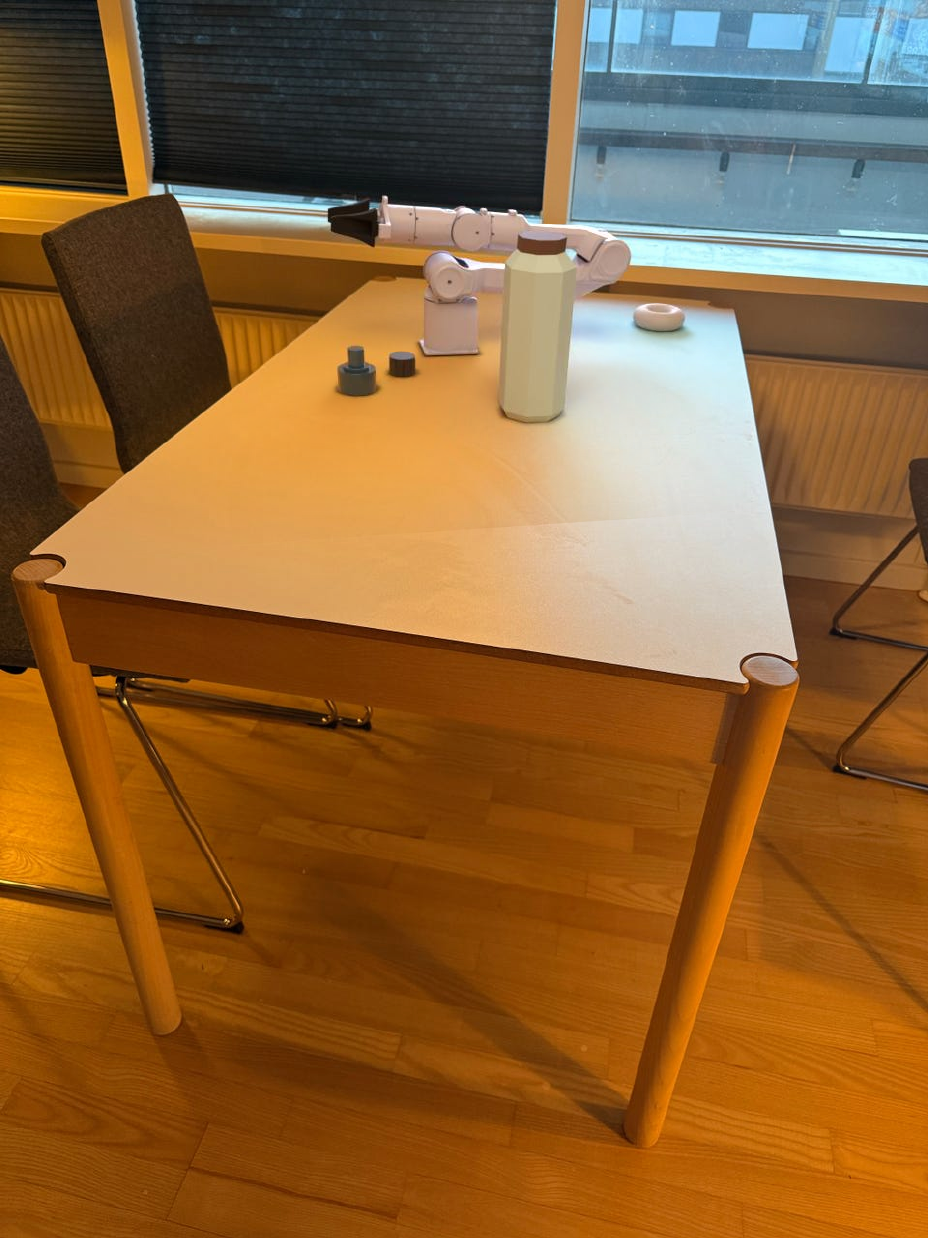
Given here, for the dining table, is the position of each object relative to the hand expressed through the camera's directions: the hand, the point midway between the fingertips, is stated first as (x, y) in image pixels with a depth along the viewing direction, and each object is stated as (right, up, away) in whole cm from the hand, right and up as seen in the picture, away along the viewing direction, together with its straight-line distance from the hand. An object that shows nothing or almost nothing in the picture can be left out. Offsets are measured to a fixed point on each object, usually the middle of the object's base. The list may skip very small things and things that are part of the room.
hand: (329, 219), depth 143 cm
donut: (+60, -7, +31) cm, 68 cm away
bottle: (+5, -28, -3) cm, 29 cm away
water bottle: (+32, -34, -9) cm, 47 cm away
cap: (+12, -24, +4) cm, 27 cm away
